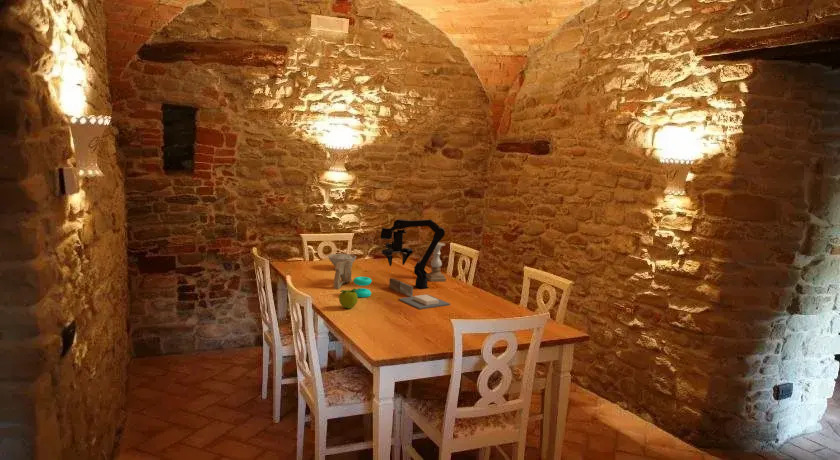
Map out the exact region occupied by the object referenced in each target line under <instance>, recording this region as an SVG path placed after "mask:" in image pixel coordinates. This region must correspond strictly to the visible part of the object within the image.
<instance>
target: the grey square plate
mask: <svg viewBox="0 0 840 460" xmlns="http://www.w3.org/2000/svg"><path fill="white" fill-rule="evenodd" d="M427 295H428V296H431V297H433V298H436V299H438V300H439V304H432V305H425V304H423V303H420V302H418V301H416V300H414V296H413V297H410V296H407V297H401V298H398V300H399V301H400V302H402V303H405V304H406V305H409V306H411V307H414V308H416V309H418V310H424V309H431V308H432V309H433V308H439V307H440V308H441V307H446V306H451V303H450V302H447V301H446V300H442V299H440V298H438V297H435V296H433V295H430V294H427Z"/></svg>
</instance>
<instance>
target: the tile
mask: <svg viewBox="0 0 840 460" xmlns="http://www.w3.org/2000/svg"><path fill="white" fill-rule="evenodd" d="M428 295H429V294H420V295H414V296H413V297H414V300H416V301H418V302H420V303H423V304H425V305H432V304H439V300H438V299H439V298H438V299H436V298H437V297H435V298H433V297H434V296H433V297H431V296H432V295H430V296H428Z"/></svg>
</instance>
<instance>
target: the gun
mask: <svg viewBox="0 0 840 460" xmlns="http://www.w3.org/2000/svg"><path fill="white" fill-rule="evenodd" d="M352 262H353V260H347V261H342V262H338V263H337V264H336V266H335V267H334V270H335V273H334V278H333V289H334V290H339V289H340V288H341V287H342V285H344V284H347V283H350V282H352V281H353V279H352V275H353V272H352V267H353V263H354V262H353V263H352Z"/></svg>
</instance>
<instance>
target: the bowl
mask: <svg viewBox="0 0 840 460" xmlns="http://www.w3.org/2000/svg"><path fill="white" fill-rule="evenodd" d="M327 257H328V259H329V261H330V263H332V265H333V266H335V267H336V264H337V263H338V262H342V261H347V260H353V262H352V264H353V263H354V262H355V261H356V259H357V256H356V255H355V254H350V253H333V254H332V253H331V254H328V256H327Z"/></svg>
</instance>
